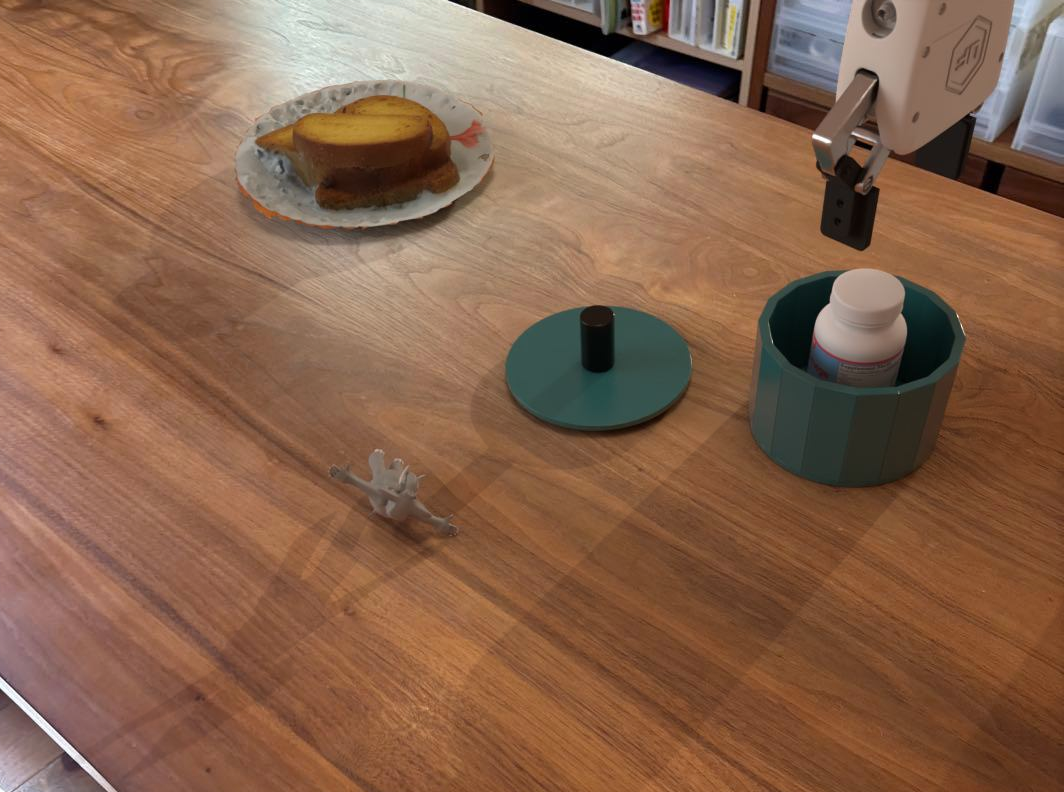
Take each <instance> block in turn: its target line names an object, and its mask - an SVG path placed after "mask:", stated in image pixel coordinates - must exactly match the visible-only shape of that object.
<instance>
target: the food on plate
mask: <svg viewBox="0 0 1064 792" xmlns="http://www.w3.org/2000/svg"><path fill="white" fill-rule="evenodd" d="M483 116H484V114H483V112H481V111H480V110H478V109H477V108H475V106H474V105H473V104H471V103H469V102H467V101H462V100H461V99H460V98H457V97H456V96H454V95H453V94H452V93H449V92H447V91H443V90H441V89H439V88H437V87H435V86H433V85H430V84H421V83H418V82H417V83H416V82H412V81H408V80H396V79H374V80H373V79H371V80H361V81H358V80H355V81H353V82H350V83H349V82H348V83H345V84H344V83H343V84H334V85H329V86H328V85H327V86H325V87H322V88H320V89H317V90H314V91H311V92H306V93H305V92H304V93H303V94H300V95H298V96H296V97H294V98H292V99H290V100H287V101H285V102H283V103H280V104H277V105H275V106H273V107H271V108H270V110H269V111H268V112H266V113H264V114H262V115H260V116H258V117H256V118H254V124H253V125H251V126H250V127H249V128H248V129H247V130H246V131H245V132H244V134H243V135H244V136H243V140H242V141H240V142H239V143H238V145H237V146H236V151H235V154H234V157H235V158H234V162H235V165H234V171H235V175H236V177H235V181H237V186H238V189H239V190H240V191H241V192H242V194H243V196H244V197H248V198H249V199H251V201H252V204H253V207H254V209H255V210H257V211H258V212H259V213H261V214H263V215H264V217H265V218H267V219H269V220H272V217H276V216H277V217H278V218H279V219H280V220H282V221H296V224H297V225H300V224H303V225H306V226H312V227H319V228H321V229H323V230H327V229H338V228H340V227H341V228H343V229H345V230H349V231H351V230H353V229H357V228H359V227H361V231H363V230H365V229H367V228H369V227H370V228H371V227H379V226H386V225H387V226H388V225H389V226H393V225H397V224H399V222H403V221H408V220H413V219H417V220H419V219H424V217H425V216H429V215H431V214H434V213H437V212H438V211H439V210H440V209H443V208H447V207H449V206H451V205H452V204H453V201H456V200H457V199H459V198H460V197H462V196H463V195H465V194H467V193H468V192H470V191H473V188H474V187H475V186H477V185H479V184H482V183H483V181H484V180H485V177H486V175H487V174H489V171H490V170H491V169H492V168H493V166H494V162H495V160H496V157H495V156H494V147H493V146H492V143H493V138H492V137H491V136H490V134H489V130H488V128H487V126H486V125H485V122H484V121H483V118H482V117H483ZM483 155H488V157H487V158H486V159H483V158H481V156H483Z"/></svg>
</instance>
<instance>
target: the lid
mask: <svg viewBox="0 0 1064 792" xmlns="http://www.w3.org/2000/svg"><path fill="white" fill-rule="evenodd" d="M692 372H693V359H692V355H691V351H690V348H689V346H688V344H687V342H686V341H685V339H684V338H683V336H682V334H680V333H679V332H678V330H676V329H675V328H674V327H672V326H671V325H670V323H667V322H666V321H664V320H662V319H661V318H659V317H657V316H654V315H652V314H650V313H647V312H645V311H641V310H638V309H635V308H631V307H624V306H619V305H618V306H616V305H602V304H593V305H587V306H580V307H574V308H570V309H566V310H562V311H559V312H555V313H553V314H550V315H548V316H546V317H544V318H542V319H540V320H538V321H536V322H535V323H533V324H531V325H530V326H529V327H527V328H526V329H525V330H524V331H523V332H522V333H521V334H519V336H518V337H517V338H516V340H515V341H514V342H513V343H512V345H511V347H510V349H509V351H508V353H507V356H506V360H505V378H506V382H507V386H508V388H509V390H510V391H509V392H510V393H511V395H512V396H513V398H514V399H515V400H516V401H517V403H519V404H520V406H521V407H523V409H525V410H526V411H528V413H530V414H532V415H533V416H535V417H537V418H538V419H541V420H543V421H546V422H548V423H549V424H552V425H556V426H559V427H562V428H567V429H572V430H579V431H589V432H590V431H594V432H595V431H596V432H597V431H598V432H600V431H601V432H602V431H613V430H619V429H624V428H629V427H633V426H637V425H639V424H642V423H645V422H648V421H650V420H652V419H654V418H656V417H658V416H660V415H661V414H663V413H664V412H666V411H667V410H669V409H670V408H672V407H673V406H674V405H675V404H676V403H677V402H678V400H679V399H680V398H681V397H682V396H683V395H684V393H685V391H686V390H687V388H688V386H689V383H690V381H691V377H692Z"/></svg>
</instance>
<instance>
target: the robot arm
mask: <svg viewBox="0 0 1064 792" xmlns="http://www.w3.org/2000/svg"><path fill="white" fill-rule="evenodd" d="M1015 2H1016V0H852V2H851V8H850V12H849V17H848V22H847V26H846V27H847V28H846V31H845V37H844V40H843V47H842V52H841V57H840V65H839V69H838V70H839V71H838V78H837V83H836V84H837V85H836V94H835V103H834V105H833V106H832V108H830V110H829V111H828V113H826V115H825V116H824V117H823V119H822V121H820V123H819V125H818V126H817V127H816V129H815V130H814V132H813V134H812V137H811V146H812V149H813V152H814V155H815V159H816V161H815V168H816V170H817V171H819V173H821V174H820V175H821V178H822V179H823V180H824V181H825V188H824V195H823V203H822V210H821V218H820V219H821V220H820V227H819V230H820V233H821V234H822V235H823V236H824V237H826V238H828V239H831V240H833V241H835V242H838V243H840V244H842V245H845V246H847V247H849V248H851V249H854V250H855V251H858V252H863V251H866V249H868V248H870V246H871V243H872V238H873V231H874V226H875V222H876V221H875V219H876V215H877V208H878V203H879V197H880V192H881V189H880V188H879V187H877V186H875V185H874V184H875V182H876V180H877V179H878V177H879V175H880V173H881V171H882V169H883V167H884V165H885V163H886V161H887V159H888V157H889V155H890V154H891V152H892V151H893V152H894V154H897V155H900V156H905V155H909V154H911V153H913V152H915V154H914V165H916V166H917V167H919V168H921V169H924V170H926V171H929V172H931V173H934V174H937V175H940V176H943V177H945V178H948V179H950V180H954V181H955V180H958V179H960V178H961V177H962V176H963V175H964V173H965V171H966V166H967V162H968V158H969V153H970V149H971V144H972V140H973V136H974V132H975V128H976V123H977V120H978V118H977V116H973V115H977V114H978V113H979V112H980V111H981V110H982V109H983V106H984V103H985V102H986V100H988V98H990V96H991V95H992V94H993V92H994V91H995V89H996V88H997V86H998V84H999V81H1000V76H1001V72H1002V67H1003V64H1004V58H1005V55H1006V54H1005V53H1006V48H1007V44H1008V40H1009V35H1010V34H1009V33H1010V30H1011V29H1010V28H1011V25H1012V24H1011V23H1012V18H1013V12H1014V8H1015ZM971 114H972V115H971ZM870 119H871V120H873V121H876V122H877V128H878V131H875V130H873V129H870V128H867V127H864V126H862V125H863V124H865V123H866V122H868V121H869V120H870ZM857 141H858V142H862V143H864V144H867V145H870V146H872V148H871V150H870V152H869V154H868V155H867V158H866V159H865V161H864V163H863V166H861V165H860V163H859V162H858V161H857V160H856V159H855V158H854V157H852V156H850V155H851V151H852V150H853V148H854V146H855V144H856V142H857Z"/></svg>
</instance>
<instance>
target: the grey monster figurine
mask: <svg viewBox="0 0 1064 792" xmlns="http://www.w3.org/2000/svg"><path fill="white" fill-rule="evenodd" d="M385 454H386V453H385V452H384V451H383V449H379V448H376V449H374V450H373V451H372V452H371V453H370V455H369V457H368V467H369V469H370V471H371V473H372V478H371V480H370V481H366V480H364V479H362V478H360V477H358V476H356V475H355V474H354V473H353V472H352V470H351V469H350V466H351V465H350V460H347V461H346V465H345V468H344V469H343V468H341V467H339V466H337V465H336V464H335V463H331V464H332V465H331V466H328V469H327V473H328V476H329V478H330V477H331V478H333V479H335V480H336V481H338V482H340V483H342V484H346V485H347V484H348V485H350V486H353V487H354V488H356V489H358V491H360V492H362V493H363V494H365V495H366V496H368V501H369V503H370V505H371V506H372V507H373V510H372V511H371V512H370V513H369V514H368V515H367V518H369V519H370V518H372V517H373V516H375V515H377V514H379V515H381V516H382V517H385V518H387V519H392V520H395V521H398V522H402V521H405V520H406V519H408V520H409V519H411V520H414V521H417V522H419V523H423V524H427V525H429V526H431V527H433V528H434V529H435V530H436V531H437V532H439V533H441V534H445V535H447V536H450V537H452V536H456V535H457V534H458V533H459V529H460V527H459V526H457V525H453V524H452V523H450V522H451V520H452V519H453V518H454V514H453V513H452V514H450V515H448V516H446V517H438V516H436V515H433V514H432V512H430V511H429V510H428V509H427V508H426V506H425V505H424V504H423V503H421V502H420V501H419V500H417V497H418V496H417V495H418V494H417V493H418V488H419V484H420V483H421V481H422V480H423V479H425V478H426V477H427V476H428V475H427V474H422V475H419V476H417V475H416V473H414V472H412V471H410V469H411V467H412V466H411V465H410V464H408V465H406V467H405V468H404V465H405V463H404V461H403V460H402V459H401V458H394V459H393V460H392V461H391V462H390V463H389V464H388V467H387V466H386V461H385V456H386V455H385Z"/></svg>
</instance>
